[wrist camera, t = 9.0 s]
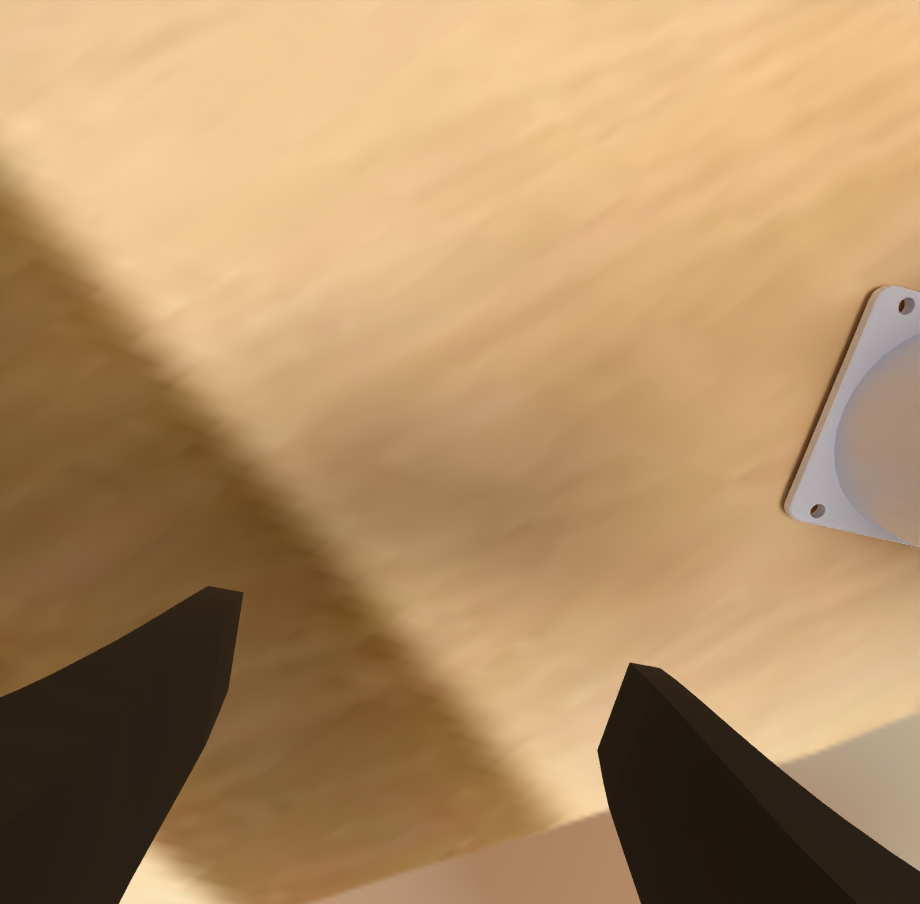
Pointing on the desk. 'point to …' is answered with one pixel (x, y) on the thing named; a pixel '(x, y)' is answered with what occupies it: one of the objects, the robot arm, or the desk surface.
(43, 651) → the desk surface
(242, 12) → the desk surface
